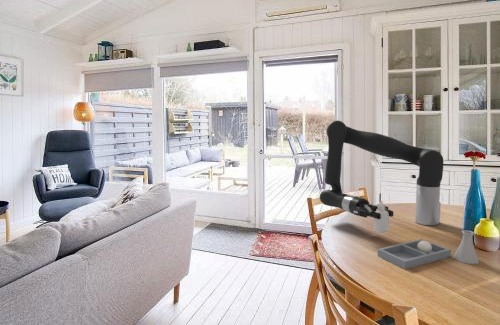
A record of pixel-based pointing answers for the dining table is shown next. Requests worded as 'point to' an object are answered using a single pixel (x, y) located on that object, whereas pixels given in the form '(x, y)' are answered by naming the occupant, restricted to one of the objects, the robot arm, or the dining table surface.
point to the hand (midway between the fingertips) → (386, 215)
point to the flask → (466, 249)
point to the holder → (412, 254)
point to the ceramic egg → (424, 247)
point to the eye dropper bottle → (381, 220)
